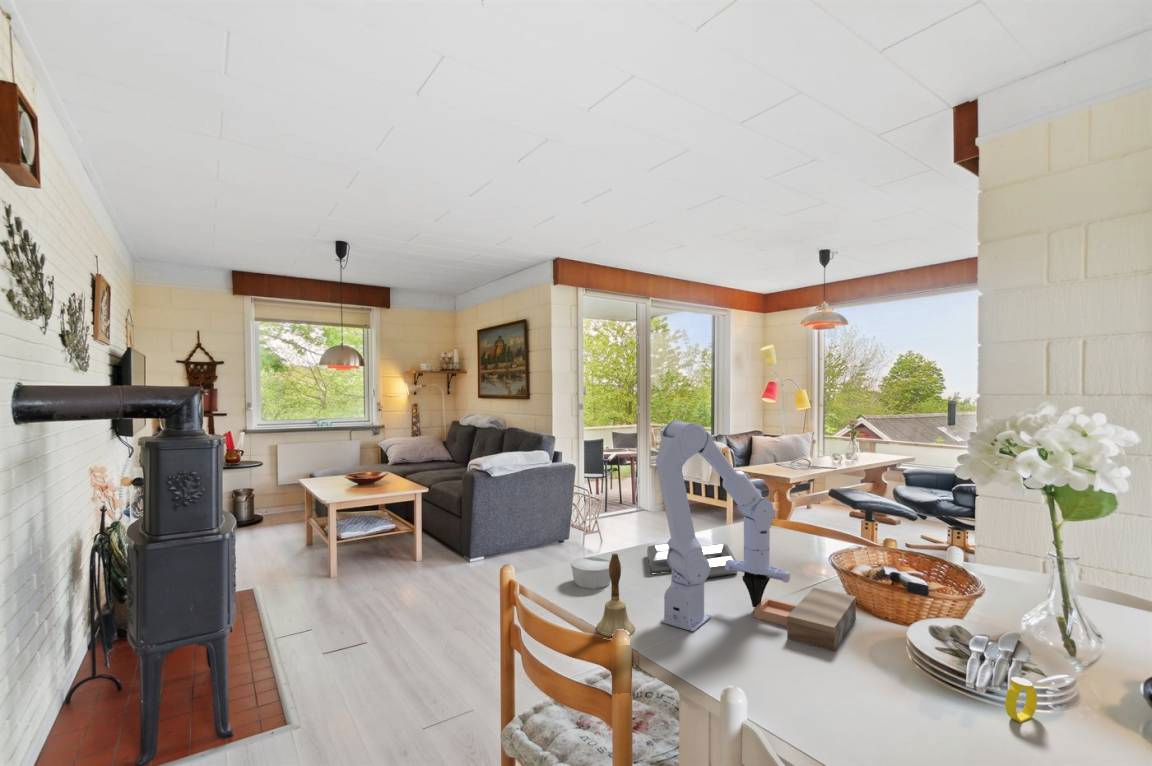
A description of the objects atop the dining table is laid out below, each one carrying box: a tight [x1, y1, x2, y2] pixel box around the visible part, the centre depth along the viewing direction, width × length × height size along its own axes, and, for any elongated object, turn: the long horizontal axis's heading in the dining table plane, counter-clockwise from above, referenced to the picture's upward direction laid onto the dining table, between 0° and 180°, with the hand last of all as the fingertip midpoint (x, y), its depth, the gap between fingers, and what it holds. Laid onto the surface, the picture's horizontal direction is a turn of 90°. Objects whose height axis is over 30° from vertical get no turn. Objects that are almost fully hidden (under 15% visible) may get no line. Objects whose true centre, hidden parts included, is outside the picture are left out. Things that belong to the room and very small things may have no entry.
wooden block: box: [786, 587, 857, 652], centre depth 119 cm, size 20×9×5 cm, turn 142°
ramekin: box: [570, 556, 611, 590], centre depth 146 cm, size 11×11×5 cm
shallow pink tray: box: [753, 597, 798, 627], centre depth 124 cm, size 8×12×2 cm, turn 52°
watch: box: [1004, 676, 1038, 723], centre depth 87 cm, size 6×3×6 cm, turn 114°
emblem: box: [646, 542, 739, 579], centre depth 160 cm, size 28×5×28 cm
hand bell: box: [595, 553, 636, 638], centre depth 118 cm, size 8×8×16 cm
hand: (756, 606), depth 128 cm, fingers closed
